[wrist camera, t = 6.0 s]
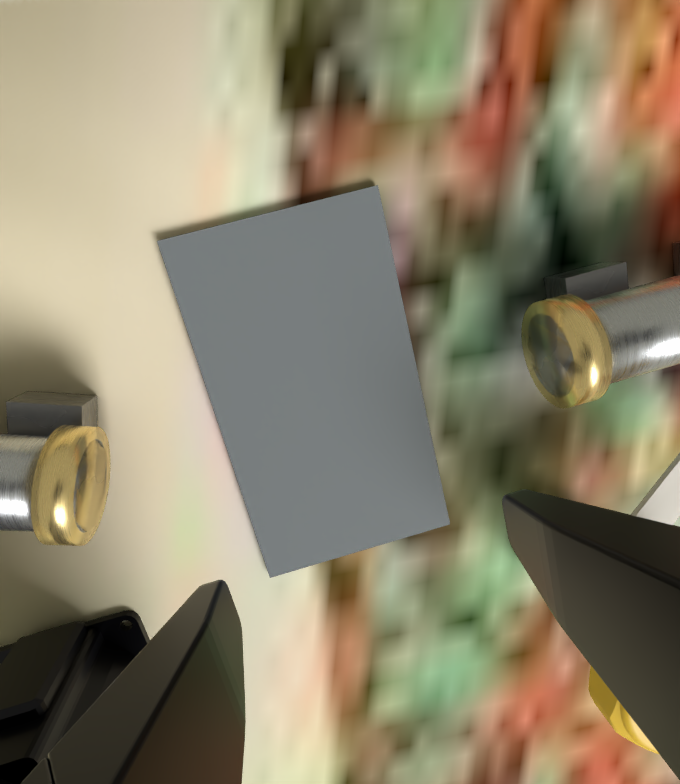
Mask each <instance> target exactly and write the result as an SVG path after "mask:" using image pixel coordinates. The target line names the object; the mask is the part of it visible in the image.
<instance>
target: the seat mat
mask: <svg viewBox="0 0 680 784" xmlns="http://www.w3.org/2000/svg"><path fill="white" fill-rule="evenodd" d="M157 243H158V246H159V249H160V252H161V255H162V258H163V260H164V263H165V266H166V269H167V272H168V275H169V278H170V281H171V284H172V287H173V290H174V293H175V296H176V299H177V302H178V305H179V308H180V311H181V314H182V317H183V320H184V323H185V326H186V329H187V332H188V335H189V338H190V341H191V344H192V347H193V350H194V353H195V356H196V359H197V362H198V365H199V368H200V371H201V374H202V377H203V380H204V383H205V386H206V389H207V392H208V395H209V398H210V400H211V403H212V406H213V409H214V412H215V415H216V418H217V421H218V424H219V427H220V430H221V433H222V436H223V439H224V442H225V445H226V448H227V451H228V454H229V457H230V460H231V463H232V466H233V469H234V472H235V475H236V478H237V481H238V484H239V487H240V490H241V493H242V496H243V499H244V502H245V505H246V508H247V511H248V514H249V517H250V520H251V523H252V526H253V529H254V532H255V535H256V538H257V540H258V543H259V546H260V549H261V552H262V555H263V558H264V561H265V564H266V567H267V570H268V573H269V576H270V578H271V577H274V576H278V575H281V574H284V573H288V572H291V571H294V570H298V569H301V568H305V567H308V566H311V565H315V564H318V563H321V562H325V561H328V560H331V559H335V558H338V557H341V556H345V555H348V554H352V553H355V552H358V551H362V550H365V549H368V548H372V547H375V546H378V545H382V544H385V543H389V542H392V541H395V540H399V539H402V538H405V537H409V536H412V535H415V534H419V533H422V532H425V531H429V530H432V529H436V528H439V527H442V526H446V525H449V524H450V522H449V517H448V512H447V508H446V503H445V498H444V494H443V489H442V484H441V479H440V475H439V470H438V465H437V461H436V456H435V451H434V447H433V442H432V437H431V433H430V428H429V423H428V419H427V414H426V409H425V405H424V400H423V395H422V390H421V386H420V381H419V376H418V372H417V367H416V362H415V358H414V353H413V348H412V344H411V339H410V334H409V330H408V325H407V320H406V315H405V311H404V306H403V301H402V297H401V292H400V287H399V283H398V278H397V273H396V269H395V264H394V259H393V255H392V250H391V245H390V240H389V236H388V231H387V226H386V222H385V217H384V212H383V208H382V203H381V198H380V194H379V189H378V185H377V186H373V187H369V188H365V189H361V190H357V191H353V192H349V193H345V194H341V195H337V196H333V197H329V198H325V199H321V200H317V201H313V202H309V203H305V204H301V205H297V206H293V207H290V208H286V209H282V210H278V211H274V212H270V213H266V214H262V215H258V216H254V217H250V218H246V219H242V220H238V221H234V222H230V223H226V224H222V225H218V226H214V227H210V228H206V229H203V230H199V231H195V232H191V233H187V234H183V235H179V236H175V237H171V238H167V239H163V240H159V241H157Z"/></svg>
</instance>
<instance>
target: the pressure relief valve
mask: <svg viewBox="0 0 680 784" xmlns="http://www.w3.org/2000/svg"><path fill="white" fill-rule="evenodd" d="M631 515H633V516H637V517H642V518H646V519H650V520H654V521H658V522H662V523H666V524H670V525H673V524H674V523H675V521H676V520H677V519H678V518H679V516H680V453H679V454H678V456H677V457H676V458H675V459H674V461H673V462H672V463H671V464H670V466H669V467H668V468H667V469H666V471H665V472H664V473H663V474H662V476H661V477H660V478H659V480H658V481H657V482H656V483H655V485H654V486H653V487H652V488H651V490H650V491H649V492H648V493H647V495H646V496H645V497H644V499H643V500H642V501H641V502H640V504H639V505H638V506H637V507H636V509H635V510H634V511H633V512H632V514H631ZM589 692H590V695H591V697H592V699H593V701H594V703H595V704H596V706H597V707H598V708H599V710H600V711H601V712H602V714H603V715H604V717H605V718H606V719H607V721H608V722H609V723H610V725H611V726H612V727H613V729H614V730H615V732H616V733H618V734H620V735H621V736H623V737H625V738H626V739H628V740H629V741H631V742H633V743H635V744H637V745H639V746H640V747H642V748H645V749H647V750H649V751H651V752H654V753H657V754H659V753H658V751H657V750H656V749H655V747H654V746H653V745H652V744H651V742H650V741H649V740H648V738H647V737H646V736H645V735H644V733H643V732H642V731H641V729H640V728H639V727H638V725H637V724H636V723H635V722H634V720H633V719H632V718H631V716H630V715H629V714H628V713H627V711H626V710H625V709H624V707H623V706H622V705H621V704H620V702H619V701H618V700H617V698H616V697H615V696H614V694H613V693H612V692H611V691H610V689H609V688H608V687H607V685H606V684H605V683H604V682H603V680H602V679H601V678H600V676H599V675H598V674H597V672H596V671H595V670H594V669H593V667H592V666H591V668H590V677H589Z"/></svg>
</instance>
